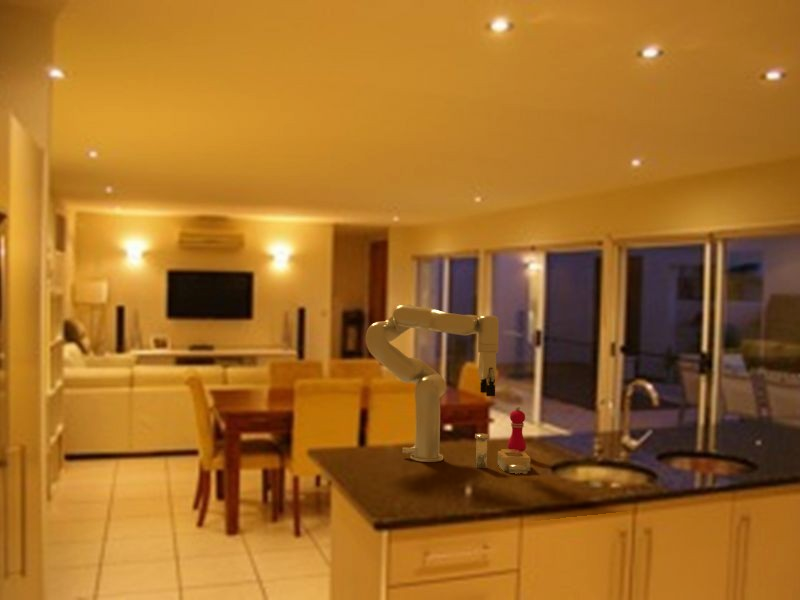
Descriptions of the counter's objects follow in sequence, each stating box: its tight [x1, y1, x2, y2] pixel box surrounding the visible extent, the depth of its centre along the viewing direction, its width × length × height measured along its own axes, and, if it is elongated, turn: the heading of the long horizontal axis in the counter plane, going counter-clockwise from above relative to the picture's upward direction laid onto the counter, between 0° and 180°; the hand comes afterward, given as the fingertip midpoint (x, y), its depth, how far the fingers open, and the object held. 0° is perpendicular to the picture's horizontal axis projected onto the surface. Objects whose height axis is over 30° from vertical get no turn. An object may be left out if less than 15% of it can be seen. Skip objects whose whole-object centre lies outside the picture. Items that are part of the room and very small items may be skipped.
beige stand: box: [497, 448, 531, 475], centre depth 253 cm, size 10×17×5 cm, turn 3°
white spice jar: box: [474, 433, 490, 469], centre depth 253 cm, size 5×5×12 cm
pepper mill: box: [507, 406, 527, 452], centre depth 271 cm, size 7×7×20 cm
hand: (487, 394), depth 257 cm, fingers open, 9 cm apart
